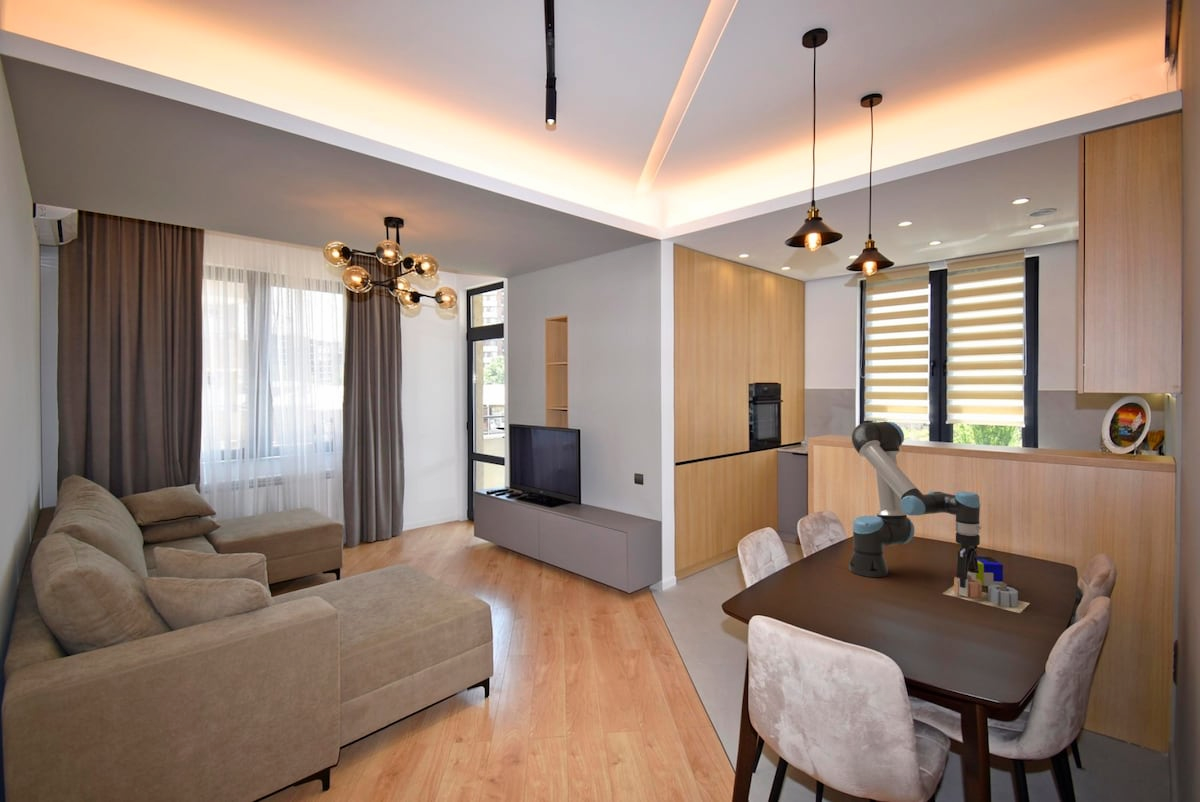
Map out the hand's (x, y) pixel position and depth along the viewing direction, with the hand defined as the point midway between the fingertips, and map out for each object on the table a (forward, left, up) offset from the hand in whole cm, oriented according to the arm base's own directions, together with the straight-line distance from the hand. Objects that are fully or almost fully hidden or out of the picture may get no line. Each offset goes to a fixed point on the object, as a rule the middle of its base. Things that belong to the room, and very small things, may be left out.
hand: (967, 592), depth 204 cm
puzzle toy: (0, +19, -2) cm, 19 cm away
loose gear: (0, 0, 0) cm, 0 cm away
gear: (+11, 0, -1) cm, 11 cm away
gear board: (+6, 0, -2) cm, 6 cm away
